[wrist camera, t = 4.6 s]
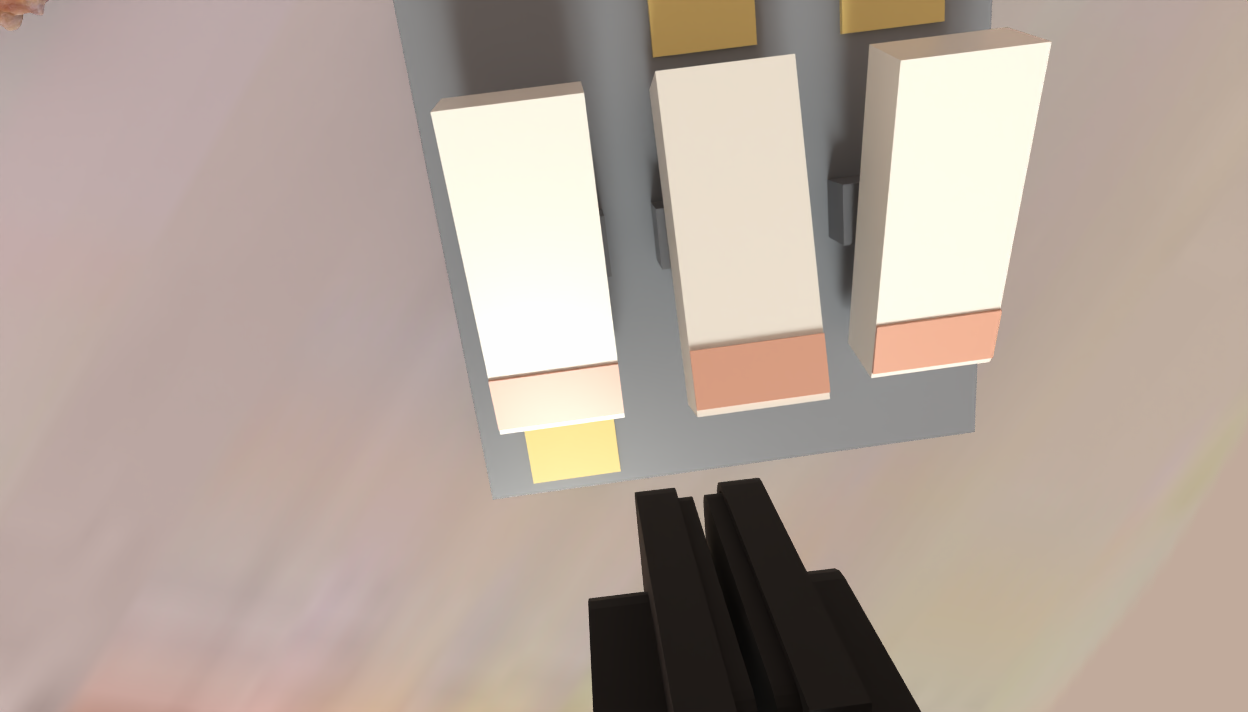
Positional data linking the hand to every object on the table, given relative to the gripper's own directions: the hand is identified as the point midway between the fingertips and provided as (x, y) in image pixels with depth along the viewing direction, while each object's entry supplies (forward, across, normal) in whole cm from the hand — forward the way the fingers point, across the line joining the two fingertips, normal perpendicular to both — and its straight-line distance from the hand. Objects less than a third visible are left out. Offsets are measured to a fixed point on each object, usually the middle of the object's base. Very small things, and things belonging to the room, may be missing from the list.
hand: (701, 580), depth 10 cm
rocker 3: (+12, -9, -2) cm, 15 cm away
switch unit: (+19, -3, -2) cm, 19 cm away
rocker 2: (+12, -3, -2) cm, 12 cm away
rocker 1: (+12, +2, -2) cm, 12 cm away
